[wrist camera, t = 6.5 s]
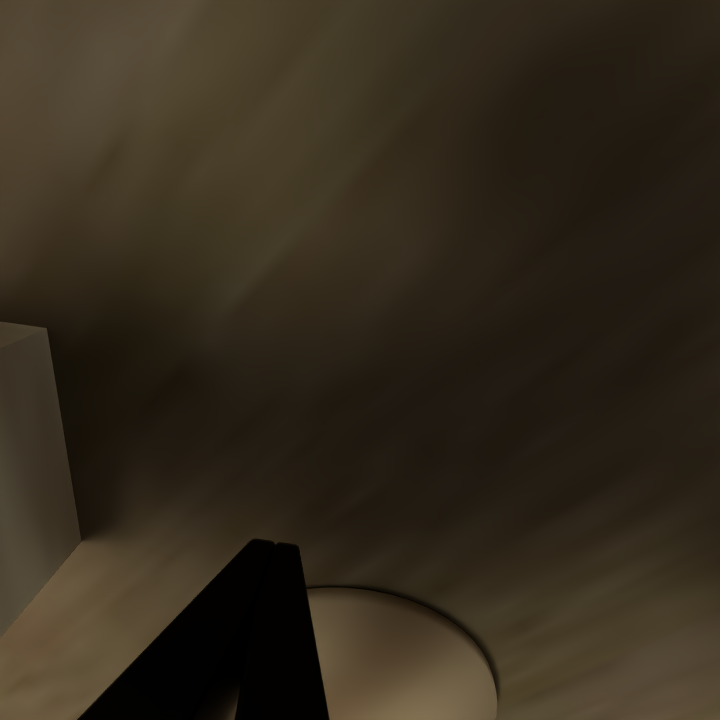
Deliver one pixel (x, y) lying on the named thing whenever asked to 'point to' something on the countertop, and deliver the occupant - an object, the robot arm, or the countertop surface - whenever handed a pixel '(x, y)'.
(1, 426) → the maple block
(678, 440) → the countertop surface
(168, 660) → the robot arm
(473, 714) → the cork coaster
